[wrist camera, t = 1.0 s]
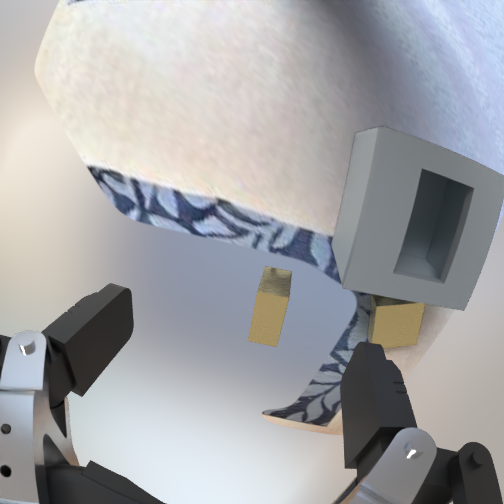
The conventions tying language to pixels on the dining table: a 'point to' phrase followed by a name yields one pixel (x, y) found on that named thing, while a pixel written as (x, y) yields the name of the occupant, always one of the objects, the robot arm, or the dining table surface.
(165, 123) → the dining table surface
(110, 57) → the dining table surface
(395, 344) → the block
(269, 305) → the gold flat square block
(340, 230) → the grey hollow block
